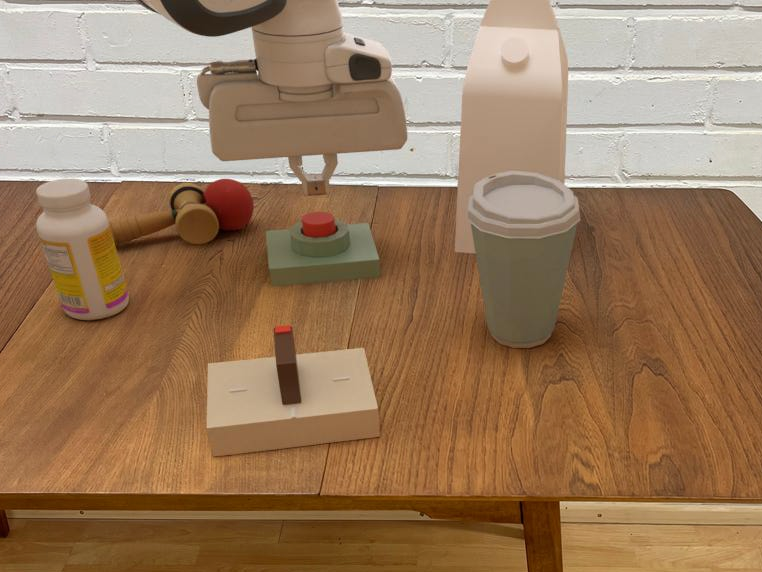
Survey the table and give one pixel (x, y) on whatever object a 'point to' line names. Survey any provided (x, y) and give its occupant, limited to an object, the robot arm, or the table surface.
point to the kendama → (193, 213)
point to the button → (318, 224)
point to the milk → (512, 101)
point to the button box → (321, 255)
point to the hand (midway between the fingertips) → (316, 193)
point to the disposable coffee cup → (522, 252)
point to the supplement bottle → (80, 251)
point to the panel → (290, 421)
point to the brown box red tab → (287, 364)
